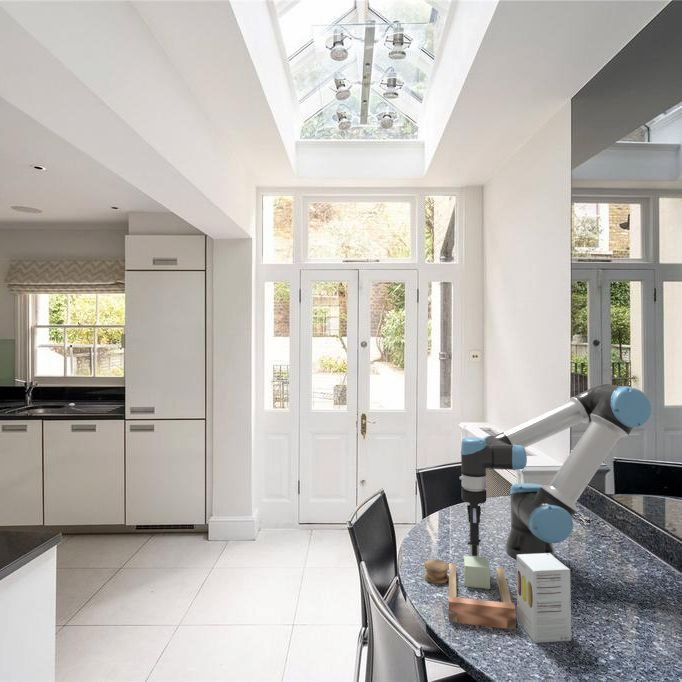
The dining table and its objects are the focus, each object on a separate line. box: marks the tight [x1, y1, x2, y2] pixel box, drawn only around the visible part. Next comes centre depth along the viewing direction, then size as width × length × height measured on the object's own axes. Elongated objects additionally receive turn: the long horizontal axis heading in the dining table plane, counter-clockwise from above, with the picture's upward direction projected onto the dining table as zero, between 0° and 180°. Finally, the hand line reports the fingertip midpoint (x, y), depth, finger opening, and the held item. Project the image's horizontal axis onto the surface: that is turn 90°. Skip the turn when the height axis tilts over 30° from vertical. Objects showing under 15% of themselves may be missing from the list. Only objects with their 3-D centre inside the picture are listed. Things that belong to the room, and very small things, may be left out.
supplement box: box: [516, 553, 572, 644], centre depth 115 cm, size 10×9×17 cm
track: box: [448, 563, 517, 630], centre depth 130 cm, size 16×28×5 cm, turn 167°
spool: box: [423, 558, 449, 585], centre depth 142 cm, size 7×7×4 cm
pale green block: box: [463, 555, 491, 590], centre depth 139 cm, size 7×7×6 cm
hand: (474, 564), depth 146 cm, fingers closed
